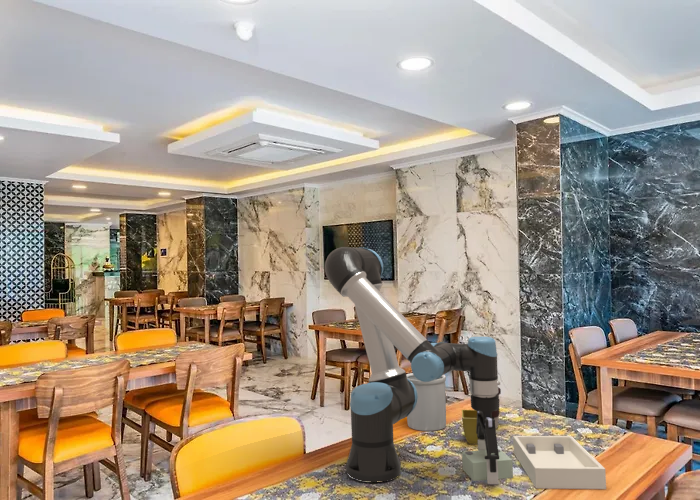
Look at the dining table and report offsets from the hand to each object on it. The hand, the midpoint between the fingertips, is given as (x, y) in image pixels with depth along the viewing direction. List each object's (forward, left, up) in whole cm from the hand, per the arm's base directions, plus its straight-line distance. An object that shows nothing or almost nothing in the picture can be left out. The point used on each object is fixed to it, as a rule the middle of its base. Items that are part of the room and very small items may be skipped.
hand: (488, 473), depth 134 cm
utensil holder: (-14, +41, 0) cm, 44 cm away
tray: (+19, +3, 0) cm, 19 cm away
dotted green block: (0, 0, 0) cm, 0 cm away
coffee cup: (+7, +39, 0) cm, 40 cm away
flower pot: (+1, +24, 0) cm, 24 cm away
